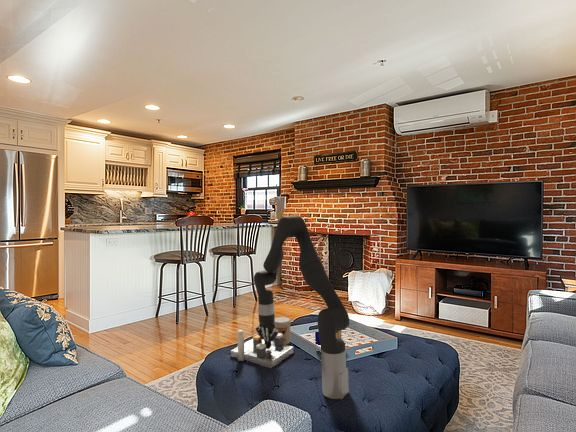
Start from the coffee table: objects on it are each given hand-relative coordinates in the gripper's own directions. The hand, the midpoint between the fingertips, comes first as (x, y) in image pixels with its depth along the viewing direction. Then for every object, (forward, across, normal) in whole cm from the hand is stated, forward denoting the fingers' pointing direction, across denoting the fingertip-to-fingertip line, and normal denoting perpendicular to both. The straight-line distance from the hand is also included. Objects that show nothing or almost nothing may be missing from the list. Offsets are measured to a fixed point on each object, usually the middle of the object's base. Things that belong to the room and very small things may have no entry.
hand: (268, 348), depth 175 cm
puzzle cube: (+5, -21, -21) cm, 30 cm away
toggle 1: (+1, +6, 0) cm, 7 cm away
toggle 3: (+1, -1, -7) cm, 7 cm away
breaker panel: (+4, +4, 0) cm, 6 cm away
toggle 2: (+1, -1, +7) cm, 7 cm away
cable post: (+4, +9, +9) cm, 13 cm away
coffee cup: (+4, +4, -17) cm, 18 cm away
